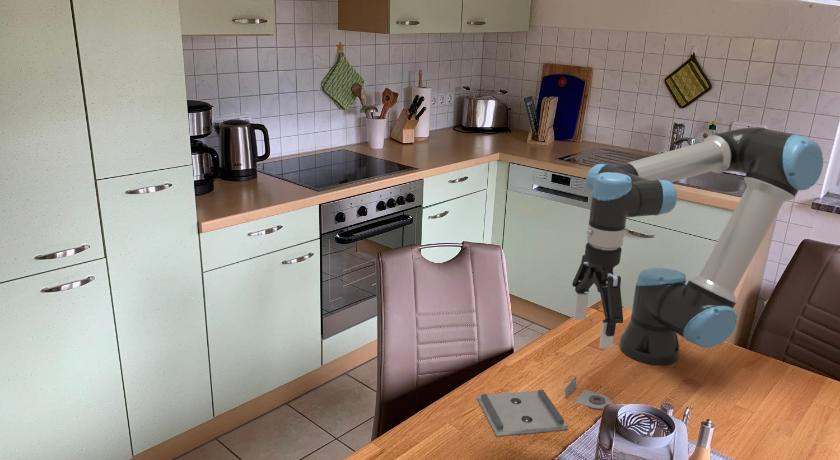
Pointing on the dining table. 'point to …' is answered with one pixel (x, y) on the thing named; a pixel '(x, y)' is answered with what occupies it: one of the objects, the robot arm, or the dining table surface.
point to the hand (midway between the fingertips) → (591, 332)
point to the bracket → (587, 397)
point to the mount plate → (521, 413)
